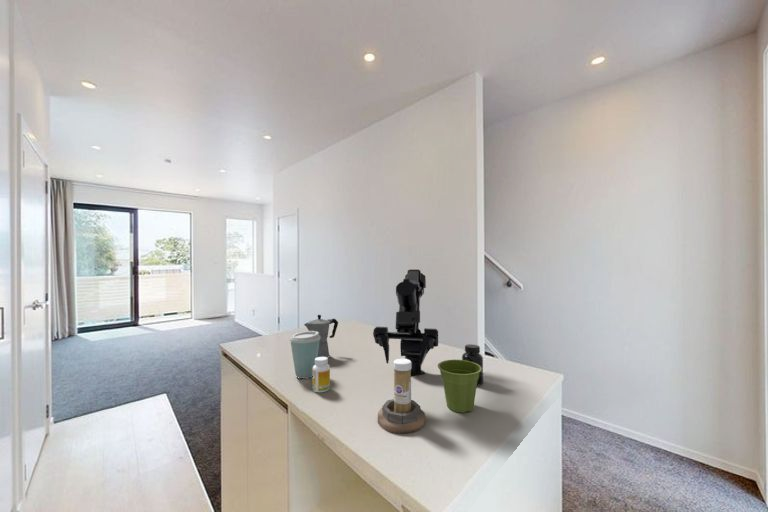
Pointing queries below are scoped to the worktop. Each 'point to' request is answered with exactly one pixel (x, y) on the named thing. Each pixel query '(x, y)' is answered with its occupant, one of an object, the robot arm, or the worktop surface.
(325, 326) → the coffeepot
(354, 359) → the worktop surface
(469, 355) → the supplement bottle
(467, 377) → the plant pot
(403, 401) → the sprinkles bottle
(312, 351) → the disposable coffee cup
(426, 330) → the robot arm
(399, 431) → the brown grey round base
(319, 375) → the supplement bottle
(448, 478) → the worktop surface
